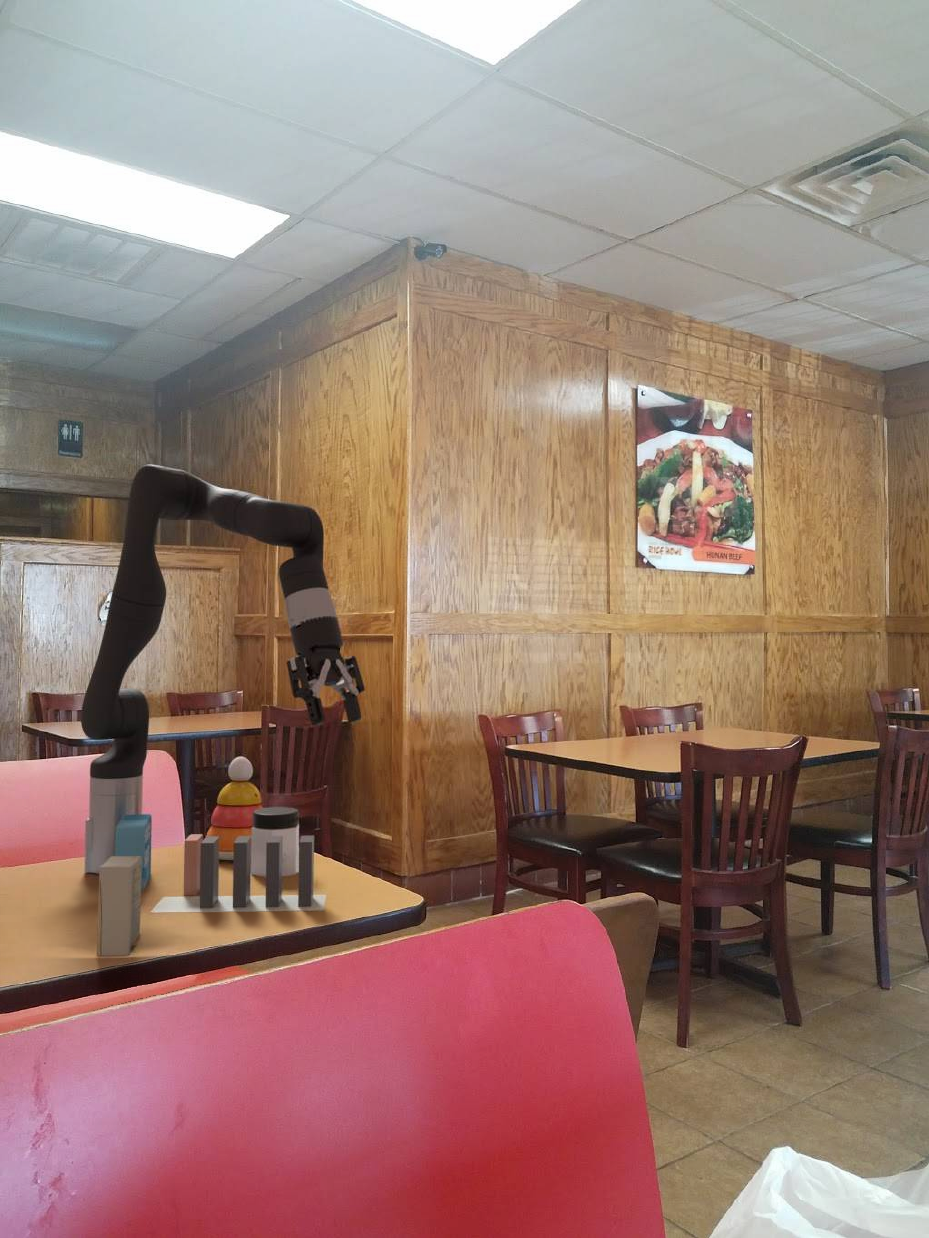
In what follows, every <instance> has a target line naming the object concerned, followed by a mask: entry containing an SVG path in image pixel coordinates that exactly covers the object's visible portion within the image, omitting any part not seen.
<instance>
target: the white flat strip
mask: <svg viewBox="0 0 929 1238" xmlns="http://www.w3.org/2000/svg"><path fill="white" fill-rule="evenodd" d="M326 900H327V894H313V901H312V905H311V907H298V894H285V895H283V894H282V899H281V902H280V905H279V907H266V894H265V895H250V900H249V902H248V904H247V906H246V908H233V895H218V901H217V902H216V904H215V906H214V907H213V908H200V895H199V896H198V895H191V896H162V898H161V899H160V900H159V902H158V903H156V905H155V906H154V908H153V909H152V910H151V911H150V913H149V914H173V913H174V914H179V913H185V914H186V913H235V912H237V913H239V912H241V913H242V912H243V913H245V912H248V913H249V912H296V911H297V912H299V911H300V912H303V911H304V912H306V911H307V912H310V911H313V912H314V911H324V910H325V904H326Z"/></svg>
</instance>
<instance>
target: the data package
mask: <svg viewBox="0 0 929 1238" xmlns="http://www.w3.org/2000/svg"><path fill="white" fill-rule="evenodd" d="M152 818H153V817H152V814H151V813H146V814H145V813H142V814H137V815H124V817H123V818H122V819H121V821H120V822H119V823H118V825H117V827H116V846H115V856H142V877H141V892H144V891H145V889H146V886H147V884H148V882H149V880H150V877H151V874H152V869H151V868H152V830H153V829H152V826H153V824H152V822H153V821H152Z"/></svg>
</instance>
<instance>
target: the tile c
mask: <svg viewBox="0 0 929 1238" xmlns="http://www.w3.org/2000/svg"><path fill="white" fill-rule="evenodd" d="M232 861H233V862H232V863H233V864H232V865H233V867H232V869H233V871H232V873H233V874H232V896H233V908H246V906H247V904H248V902H249V900H250V896H251V836H238V837H237V839H236V840H235V842H234V857H233V860H232Z"/></svg>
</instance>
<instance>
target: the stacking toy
mask: <svg viewBox="0 0 929 1238" xmlns="http://www.w3.org/2000/svg"><path fill="white" fill-rule="evenodd" d="M227 771H228V772H227V774H228V776H229V778H230V780H232V781H231V782H230V783H227V784H226V785H225V786H223V788H222V789H221V790H220V791H219V794H218V796H217V800H216V803H217V805H216V807H215V808H214V810H213V812H212V815H211V818H210V824H211V826H210V827H209V829H208V831H207V833H206V835H205V838H206V837H209V836H219V861H220V860H221V861H233V857H234V842H235V840H236V839H237V837H238V836H251V841H252V827H253V811H254V810H257V809H261V808H264V807H263V805H262V804H261V803H262V795H261V793H260V791H259V789H258V788H257V786H255V785H254V784H253V783H251V782H250V781H249V780H250V779H251V778H252V776H253V773H254V768H253V765H252V763H251V761H250V760H248V758H246V757H244V756H237V757H235V758H233V760H232V761H231V762H230V764H229V766H228V770H227Z"/></svg>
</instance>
